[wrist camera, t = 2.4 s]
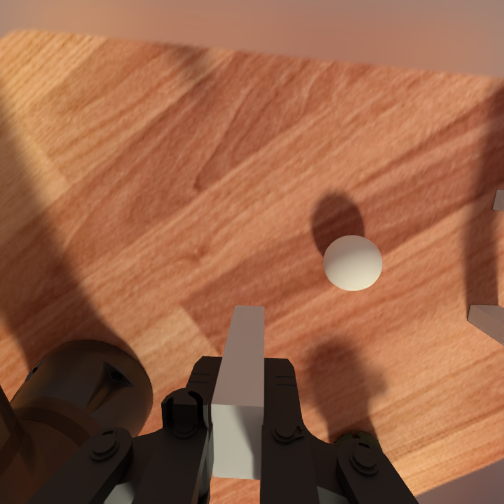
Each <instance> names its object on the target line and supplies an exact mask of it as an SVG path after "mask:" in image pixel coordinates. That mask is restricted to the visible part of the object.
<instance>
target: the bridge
mask: <svg viewBox="0 0 504 504" xmlns="http://www.w3.org/2000/svg"><path fill="white" fill-rule="evenodd" d="M493 210H499V211H504V190H497V193H496V197H495V201H494V206H493ZM467 321H468V322H469V323H471V324H472V325H474V326H475V327H477V328H478V329H480V330H481V331H483V332H484V333H486V334H487V335H489V336H490V337H492V338H493V339H495V340H496V341H498V342H499V343H501V344H502V345H503V346H504V308H503V307H501V306H498V305H471V306H470V311H469V315H468V320H467Z"/></svg>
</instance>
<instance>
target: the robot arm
mask: <svg viewBox="0 0 504 504" xmlns="http://www.w3.org/2000/svg"><path fill="white" fill-rule="evenodd" d="M152 404H153V393H152V387H151V384H150V381H149V379H148V377H147V375H146V373H145V372H144V370H143V369H142V368H141V366H140V365H139V364H138V363H137V362H136V361H135V360H134V359H133V358H132V357H131V356H129V355H128V354H127V353H125V352H124V351H122V350H120V349H118V348H116V347H114V346H112V345H109V344H106V343H103V342H99V341H92V340H78V341H72V342H68V343H65V344H63V345H60V346H59V347H57V348H55V349H54V350H52V351H51V352H50V353H49V354H47V355H46V356H45V357H44V358H42V359H41V360H40V361H39V362H38V363H37V364H36V365H35V366H34V367H33V368H32V370H31V371H30V373H29V374H28V376H27V377H26V380H25V382H24V383H23V384H22V386H21V387H20V388H19V390H18V391H17V392H16V394H15V395H14V397H13V398H12V400H11V401H10V403H9V401H8V399H7V397H6V395H5V393H4V391H3V389H2V387H1V385H0V504H209V501H210V480H211V475H212V469H213V477H224V478H240V479H257V480H260V504H419V503H418V502H417V500H416V499H415V497H414V496H413V494H412V493H411V491H410V490H409V488H408V487H407V486H406V484H405V483H404V481H403V480H402V478H401V477H400V475H399V474H398V473H397V471H396V470H395V468H394V467H393V465H392V464H391V462H390V461H389V459H388V458H387V457H386V455H385V454H384V453H383V452H382V451H381V450H380V449H379V448H378V447H376V446H375V445H373V444H372V443H370V442H368V441H365V440H362V439H359V438H350V439H347V440H345V441H343V442H342V443H341V444H340V446H339V447H337V446H335V445H332V444H329V443H326V442H324V441H322V440H320V439H318V438H316V437H315V436H314V435H312V434H311V433H310V432H309V431H308V430H307V428H306V426H305V425H304V423H303V419H302V414H301V408H300V402H299V395H298V389H297V383H296V376H295V370H294V367H293V365H292V364H291V363H290V361H289V360H288V359H279V358H264V306H236V305H235V308H234V312H233V317H232V321H231V325H230V329H229V333H228V337H227V341H226V345H225V349H224V354H223V357H211V356H202V357H201V358H200V359H199V360H198V361H197V362H196V363H195V365H194V367H193V370H192V372H191V375H190V378H189V380H188V383H187V385H186V388H181V389H178V390H176V391H173V392H172V393H170V394H169V395H168V396H166V397H165V399H164V400H163V401H162V403H161V408H162V421H163V428H161V429H159V430H158V431H156V432H153V433H150V434H146V435H142V436H138V435H139V433H140V432H141V430H142V428H143V427H144V425H145V423H146V421H147V419H148V417H149V414H150V412H151V409H152Z"/></svg>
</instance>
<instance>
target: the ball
mask: <svg viewBox="0 0 504 504" xmlns="http://www.w3.org/2000/svg"><path fill="white" fill-rule="evenodd" d="M323 268H324V271H325V274H326V276H327V277H328V279H329V280H330V281H331V282H332V283H333V284H334V285H336V286H337V287H339V288H341V289H344V290H348V291H358V290H362V289H365V288H367V287H369V286H371V285H372V284H373V283H374V282H375V281H376V280H377V279H378V277H379V275H380V273H381V270H382V257H381V254H380V251H379V250H378V248H377V247H376V245H375V244H374V243H373V242H371V241H370V240H368V239H366V238H364V237H361V236H357V235H347V236H343V237H340V238H338V239H336V240H335V241H334V242H332V243H331V244H330V245H329V247H328V248H327V250H326V252H325V254H324V258H323Z"/></svg>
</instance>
